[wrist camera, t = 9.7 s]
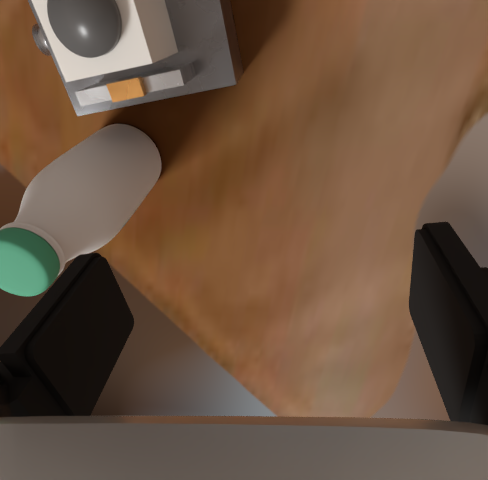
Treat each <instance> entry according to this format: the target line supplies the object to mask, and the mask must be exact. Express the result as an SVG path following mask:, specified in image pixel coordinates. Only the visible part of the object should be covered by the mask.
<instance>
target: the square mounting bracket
mask: <svg viewBox="0 0 488 480" xmlns="http://www.w3.org/2000/svg"><path fill="white" fill-rule="evenodd" d="M28 2H29V4H30V6H31V9H32V11H33V13H34V16H35V18H36V20H37V23H38V24H35V25H34V26H33V28H32V33H33V38H34V40H35V43H36V45H37V46H38V48H39V49H40V50H41V51H42V52H43V53H44V54H45V55H47V56H50V55H52V58H53V60H54V62H55V65H56V67H57V69H58V72H59V74H60V76H61V79H62V81H63V83H64V86H65V88H66V90H67V93H68V95H69V97H70V100H71V102H72V104H73V107H74V109H75V111H76V114H77V116H81V115H86V114H91V113H96V112H101V111H106V110H111V109H116V108H121V107H126V106H131V105H136V104H141V103H147V102H152V101H157V100H162V99H167V98H172V97H177V96H182V95H187V94H192V93H197V92H202V91H207V90H212V89H217V88H222V87H227V86H232V85H236V84H237V83H238V81H239V79H240V78H241V76H242V75H243V73H244V72H243V67H242V61H241V56H240V50H239V45H238V39H237V34H236V28H235V23H234V18H233V12H232V7H231V1H230V0H165V4H166V7H167V11H168V15H169V19H170V23H171V27H172V30H173V34H174V38H175V42H176V46H177V49H178V53H175V54H173V55H171V56H168V57H166V58H164V59H162V60H159V61H157V62H155V63H152V64H147V65H143V66H138V67H134V68H129V69H125V70H120V71H116V72H111V73H106V74H102V75H97V76H93V77H88V78H84V79H79V80H74V81H70V82H66V81H65V79H64V76H63V74H62V72H61V69H60V67H59V64H58V62H57V60H56V57H55V55H54V53H53V50H52V48H51V46H50V43H49V41H48V38H47V36H46V34H45V31H44V29H43V27H42V24H41V22H40V20H39V17H38V15H37V12H36V10H35V8H34V5H33V3H32V1H31V0H28Z"/></svg>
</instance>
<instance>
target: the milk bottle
mask: <svg viewBox="0 0 488 480" xmlns="http://www.w3.org/2000/svg"><path fill="white" fill-rule="evenodd" d="M160 173H161V158H160V154H159V152H158V149H157V147H156V146H155V144H154V142H153V141H152V140H151V139H150V137H148V136H147V135H146V134H145V133H144V132H142V131H141V130H139V129H137V128H135V127H133V126H130V125H126V124H112V125H108V126H106V127H104V128H102V129H100V130H99V131H97V132H95V133H94V134H92V135H91V136H89V137H88V138H86V139H85V140H83V141H82V142H80V143H79V144H77V145H76V146H74V147H73V148H72V149H70V150H69V151H67V152H66V153H64V154H63V155H61V156H60V157H59V158H57V159H56V160H54V161H53V162H52V163H50V164H49V165H48V166H46V167H45V168H44V169H43V170H41V171H40V172H39V173H38V174H37V175H36V176H35V178H34V179H33V180H32V181H31V183H30V184H29V186H28V187H27V189H26V191H25V193H24V196H23V199H22V202H21V207H20V210H19V213H18V216H17V218H16V219H15V221H14V223H9V224H7V225H5V226H3V227H2V228H1V229H0V288H1V289H3V290H5V291H7V292H9V293H12V294H16V295H20V296H35V295H38V294H40V293H42V292H43V291H45V290H46V289H47V288H48V287H49V286H50V285H51V284H52V283H53V282H54V280H55V279H56V277H57V276H58V275H59V274H60V273H61V272H62V271H63V269H64V266H65V263H66V262H67V261H69V260H71V259H73V258H75V257H77V256H78V255H81V254H88V253H90V252H93V251H95V250H97V249H99V248H101V247H102V246H104V245H105V244H107V243H108V242H109V241H110V240H111V239H113V238H114V237H115V236H116V235H117V233H118V232H119V231H120V230H121V229H122V228H123V226H124V225H125V224H126V223H127V221H128V220H129V219H130V217H131V216H132V215H133V213H134V212H135V211H136V209H137V208H138V207H139V205H140V204H141V203H142V201H143V200H144V199H145V197H146V196H147V195H148V193H149V192H150V190H151V189H152V188H153V186H154V185H155V183H156V182H157V180H158V178H159V176H160Z"/></svg>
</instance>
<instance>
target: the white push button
mask: <svg viewBox="0 0 488 480" xmlns="http://www.w3.org/2000/svg"><path fill="white" fill-rule="evenodd" d="M31 1H32V3H33V5H34V8H35V10H36V12H37V15H38V17H39V20H40V22H41V24H42V27H43V29H44V31H45V34H46V36H47V38H48V41H49V43H50V46H51V48H52V50H53V53H54V55H55V57H56V60H57V62H58V64H59V67H60V69H61V72H62V74H63V76H64V79H65V81H66V82H70V81H74V80H79V79H84V78H88V77H93V76H97V75H102V74H106V73H111V72H116V71H120V70H125V69H129V68H134V67H138V66H143V65H147V64H152V63H155V62H157V61H159V60H162V59H164V58H166V57H168V56H171V55H173V54H175V53H178V49H177V46H176V42H175V38H174V34H173V30H172V27H171V23H170V19H169V15H168V11H167V7H166V4H165V0H31Z"/></svg>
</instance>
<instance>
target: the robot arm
mask: <svg viewBox="0 0 488 480" xmlns="http://www.w3.org/2000/svg"><path fill="white" fill-rule="evenodd" d="M409 310H410V314H411V317H412V320H413V323H414V325H415V328H416V331H417V333H418V336H419V339H420V341H421V344H422V346H423V349H424V352H425V354H426V357H427V360H428V362H429V365H430V367H431V370H432V373H433V376H434V378H435V381H436V384H437V386H438V389H439V391H440V394H441V397H442V399H443V402H444V405H445V407H446V410H447V413H448V415H449V418H450V420H451V421H442V420H427V419H393V418H355V417H260V416H258V417H254V416H246V417H245V416H90V415H91V413H92V411H93V409H94V407H95V405H96V402H97V400H98V398H99V396H100V394H101V392H102V390H103V388H104V386H105V384H106V382H107V380H108V378H109V376H110V374H111V371H112V370H113V367H114V365H115V364H116V362H117V359H118V357H119V355H120V353H121V351H122V349H123V347H124V345H125V343H126V341H127V338H128V337H129V335H130V333H131V331H132V329H133V326H134V318H133V315H132V313H131V311H130V309H129V307H128V305H127V303H126V301H125V298H124V296H123V294H122V292H121V290H120V287H119V285H118V283H117V281H116V279H115V277H114V275H113V272H112V270H111V268H110V266H109V264H108V262H107V260H106V259H105V258H104V257H102V256H101V255H100V254H98V253H91V254H81V255H78V256H77V257H76V258H75V259H74V261H73V262H72V263H71V264H70V265H69V267H68V268H67V269H66V270H65V271H64V273H63V274H62V275H61V276H60V277H59V278H58V280H57V281H56V282H55V283H54V284H53V286H52V287H51V288H50V289H49V290H48V292H47V293H46V294H45V295H44V296H43V298H42V299H41V300H40V301H39V302H38V303H37V305H36V306H35V307H34V308H33V309H32V310H31V312H30V313H29V314H28V315H27V316H26V318H25V319H24V320H23V321H22V322H21V323H20V325H19V326H18V327H17V328H16V329H15V331H14V332H13V333H12V334H11V335H10V337H9V338H8V339H7V340H6V341H5V342H4V344H3V345H2V346H1V347H0V361H1V362H0V480H488V268H486V267H485V268H480V267H479V265H478V264H477V262H476V261H475V259H474V258H473V257H472V255H471V254H470V252H469V251H468V250H467V248H466V247H465V245H464V244H463V242H462V241H461V240H460V238H459V237H458V235H457V234H456V232H455V231H454V230H453V228H452V227H451V225H450V224H449V223H448V222H439V223H427V224H424V225H423V227H422V229H421V230H416V232H415V238H414V250H413V261H412V273H411V285H410V296H409Z"/></svg>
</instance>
